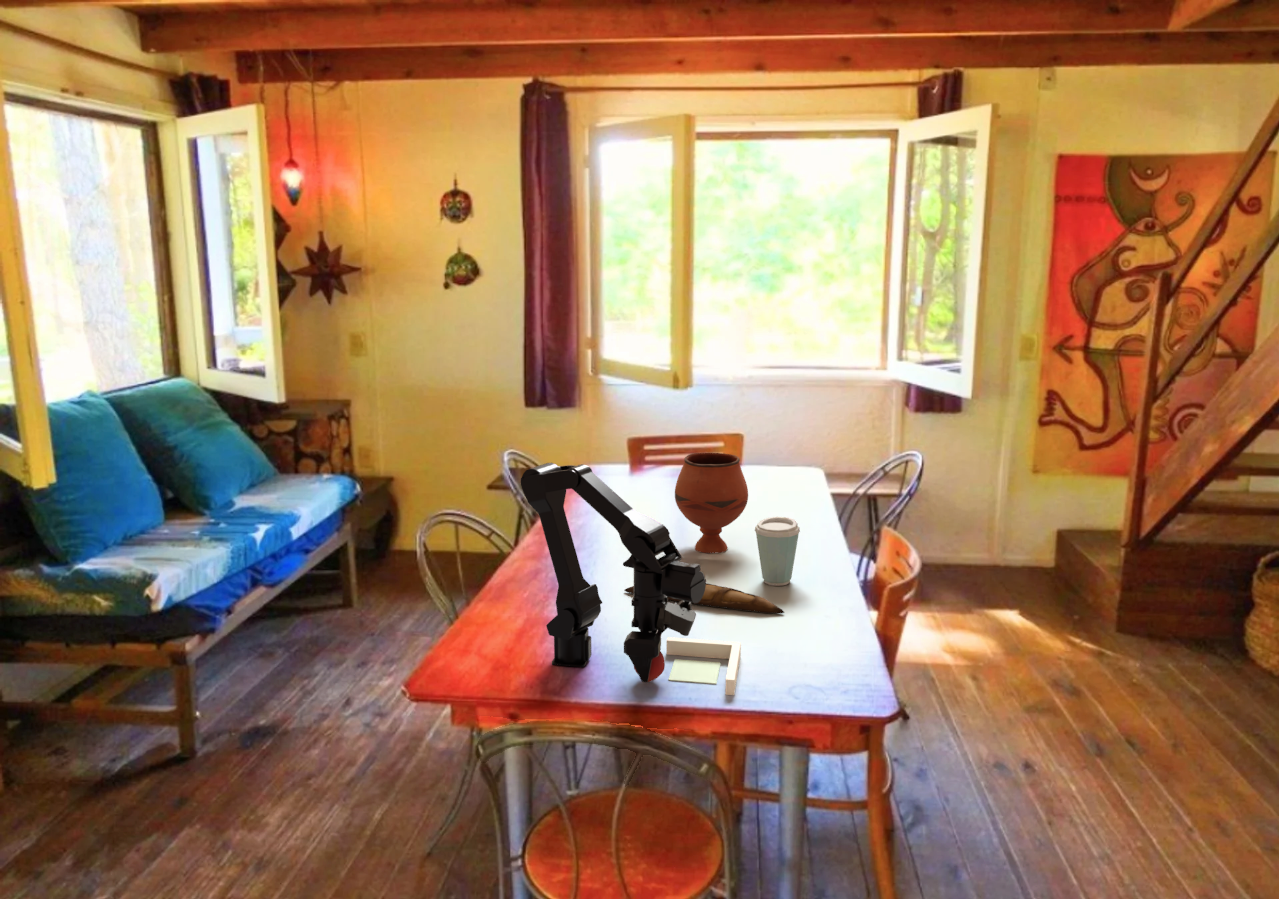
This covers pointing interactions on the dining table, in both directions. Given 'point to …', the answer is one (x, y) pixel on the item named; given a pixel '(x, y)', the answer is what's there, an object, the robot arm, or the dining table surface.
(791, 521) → the disposable coffee cup
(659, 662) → the onion
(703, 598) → the bread
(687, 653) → the arena
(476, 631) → the dining table surface
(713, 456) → the goblet
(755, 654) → the dining table surface
